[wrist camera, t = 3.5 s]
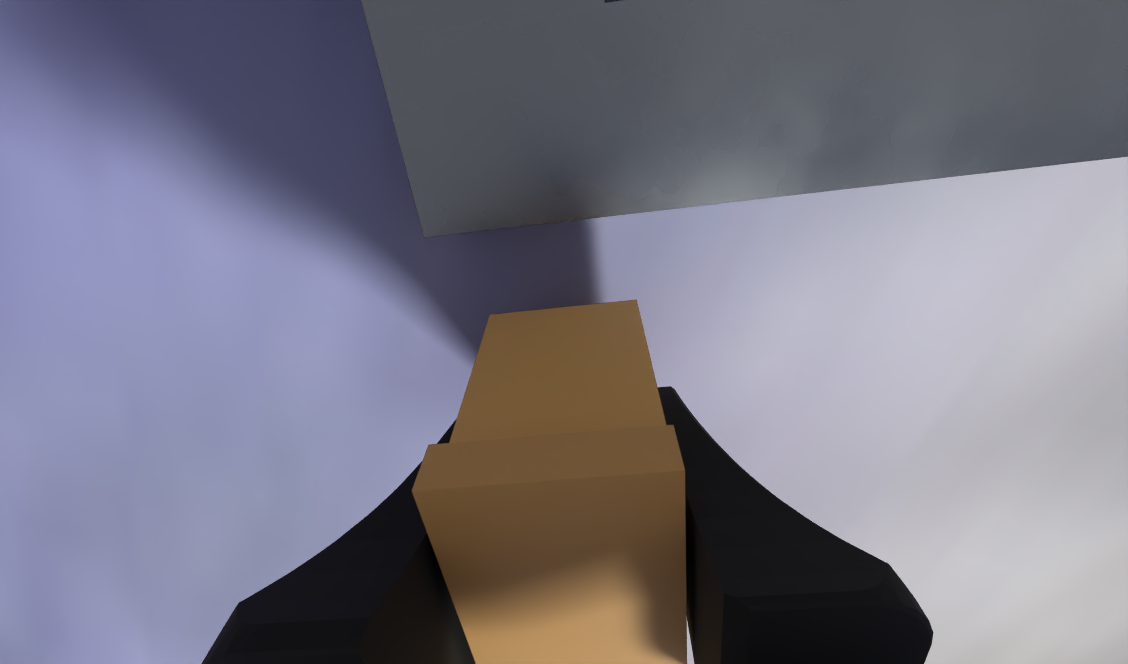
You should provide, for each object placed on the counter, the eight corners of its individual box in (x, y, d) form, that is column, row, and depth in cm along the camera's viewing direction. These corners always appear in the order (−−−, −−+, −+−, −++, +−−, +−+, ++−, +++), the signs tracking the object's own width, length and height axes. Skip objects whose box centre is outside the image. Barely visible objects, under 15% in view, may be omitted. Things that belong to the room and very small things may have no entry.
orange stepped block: (645, 458, 16) (687, 702, 10) (523, 468, 17) (493, 710, 11) (635, 275, 13) (685, 470, 7) (484, 291, 14) (411, 490, 8)
